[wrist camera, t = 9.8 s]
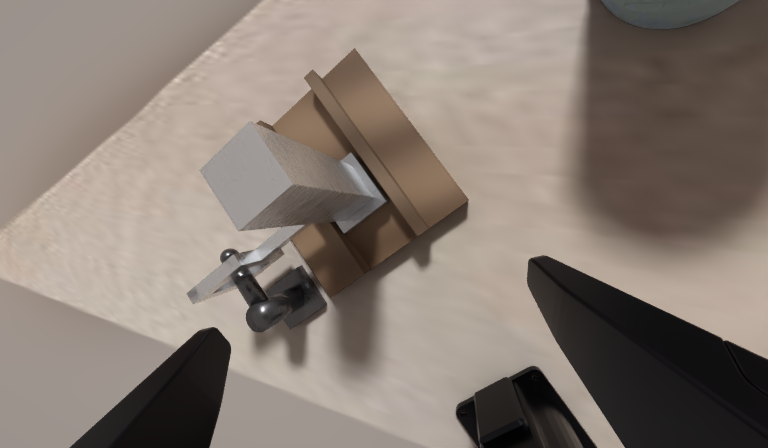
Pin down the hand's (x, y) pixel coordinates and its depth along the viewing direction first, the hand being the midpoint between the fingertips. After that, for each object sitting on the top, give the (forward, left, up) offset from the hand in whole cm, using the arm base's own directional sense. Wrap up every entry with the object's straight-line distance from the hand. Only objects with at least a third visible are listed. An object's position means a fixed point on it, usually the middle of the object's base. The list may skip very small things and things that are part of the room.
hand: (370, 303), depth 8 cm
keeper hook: (+4, +11, -13) cm, 17 cm away
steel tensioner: (+6, +6, -11) cm, 14 cm away
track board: (+7, +2, -13) cm, 15 cm away
